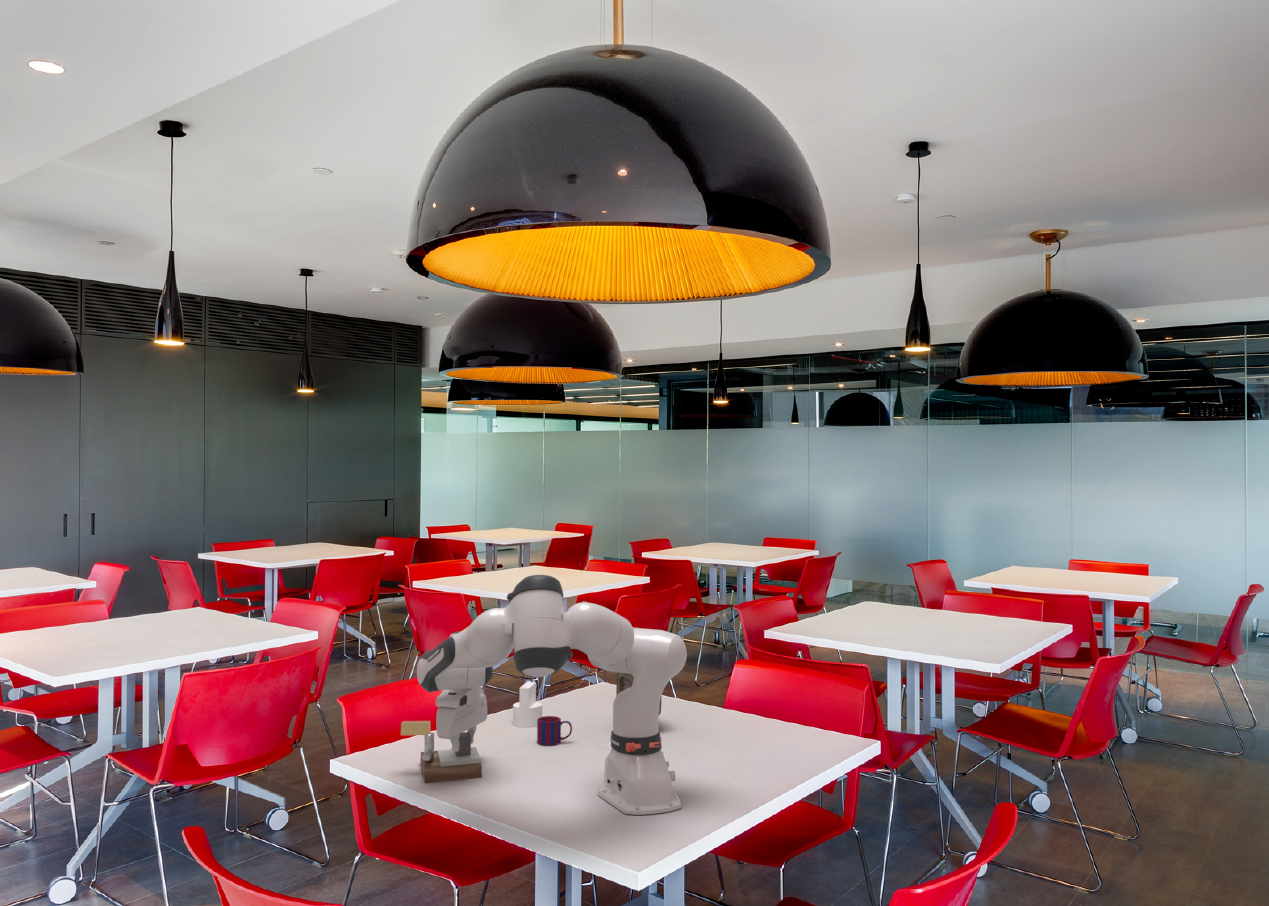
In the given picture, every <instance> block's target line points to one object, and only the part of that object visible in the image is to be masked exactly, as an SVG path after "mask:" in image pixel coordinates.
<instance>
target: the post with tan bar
mask: <svg viewBox="0 0 1269 906" xmlns="http://www.w3.org/2000/svg"><path fill="white" fill-rule="evenodd" d="M400 736H424V745H423V746H424V751H423V752H424V756H423V761H425V762H432V761H434V751H435V733H434V732H431V720H410V721H409V720H405V721H402V722H401V723H400Z"/></svg>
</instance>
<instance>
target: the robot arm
mask: <svg viewBox="0 0 1269 906" xmlns="http://www.w3.org/2000/svg"><path fill="white" fill-rule="evenodd" d="M563 591H564V590H563V587H562V584H561V582H560V580H558V579H557V578H555V577H554V576H551V575H548V574H547V575H546V574H534V575H533V574H531V575H528V576H526V577H524V578H523V579H521V580H520V581H519V582H518V583H517V584H516V585H515V587H514V588H513V591H512V592H509V593H508V594H507V596H506V599H507V601H508V604H507V606H505V607H501V608H500V607H495V608H489V609H487V610H485V611H483V612H482V613H481V614H479V615H478V616H477V617H476V618H475V619H473V621H472V622H471V624H469V626H467V627H466V628H464V629H463V630H461V631H455V632H452V633H451V634H450V635H449V637H448V638H447V639H444V640H442V641H441V642H440V643H439V644H438V645H436V647H434V648H433V649H432V650H430V649H429V650H426V651H425V652H424V653H423V654H422V655H420V657H419V658H418V663H417V667H416V677H417V682H418V685H419V686H420V687H421V688H422V689H423V690H425V691H426V692H428V693H434V692H440V691H442V692H441V693H440V694H439V695H438V696H437V697H436V698H435V699H436V700H435V706H436V707H438V709H437V710H436V719H435V721H436V722H435V723H436V727H435V728H436V736H437V737H438V738H439V739H446V740H449V741H450V743H451V749H452V751H455V752H457V751H459V750H461V743H459V739H458V738H459V737H460V733H463V732H469V733H470V735H471V745H472V744H473V743H474V741H475V740H474V738H475V733H476V732H477V726H478V725H480V724H482V723H484V722H486V720H487V718H488V702H487V695H486V694H485V691H484V690H485V689H483V688H482V687H484V686H486V685H488V683H489V682H490V681H491V680H492V678H493V673H494V671H493V670H494V669H493V667H495V666H498V665H500V664H501V663H503V662H504V661H505V660H507V658H508V657H509V655H511V653H512V652H513V650H514V653H513V655H512V656H513V659H514V660H513V661H514V665H515V668H516V671H517V672H519V673H521V674H522V675H523V676H524V675H525V676H528V677H529V676H530V677H534V678H543V677H547V676H549V675H554V674H555V673H557V672H558V671H559V670H560V669H562V668H563V667H564V666H565V664H566V662H568V661H569V660H571V659H572V657H573V654H574V653H573V651H572V650H579V651H581V652H583V653H584V654H585V655H587V657H588V658H587V659H588V660H589V662H590V664H591V665H592V666H593V667H596V668H598V669H601V670H604V671H608V672H612V673H627V674H633V675H634V680H633V684H632V687H629V688H627V689H625V690H623V691H622V692H620V693H619V694H618V695H617V696H615V698H614V700H613V703H612V730H611V733H610V748H611V749H610V752H609V753H608V755H606V757H605V759H604V768H603V769H604V770H603V771H604V772H603V773H604V774H603V785H602V787H599V788H598V789H597V793H596V794H597V795H596V796H599V797H600V798H602V799H603V800H605V801H606V802H607V803H608V804H610V805H611V806H613V807H615V809H617V810H619V811H620V812H622V813H623V814H626V815H634V816H635V815H637V816H638V815H639V816H641V815H655V814H662V813H669V812H672V811H676V810H679V809H681V808H683V807H682V802H681V799H680V797H679V795H678V793H677V791H676V789H675V787H674V785H673V782H675V781H676V773H675V770H669V767H670V762H669V760H668V761H667V760H666V759H665V756H664V752H663V751H662V749H663V748H662V736H661V733H660V732H661V731H660V730H659V720H660V717H659V716H660V715H659V705H660V698H661V695H662V694H663V692H664V689H665V688H666V687H667V685H668V683H669V682H670V681H671V679H673V678H674V677H675V676H677V675H678V674H679V673H680V672H681V671H682V670H683V669H684V667H685V664H686V661H687V657H688V653H687V652H688V651H687V646H686V644H685V641H684V640H683V638H682V637H681V636H680V635H679V634H676V633H673V632H669V631H666V630H663V629H652V628H640V627H633V626H632V624H631V622H630V621H629V619H627V618H625V617H623V616H621V615H620V614H619V613H616V612H615V611H613V610H611V609H609V608H607V607H605V606H602V605H601V604H600V605H599V604H597V603H591V602H586V601H585V602H582V601H581V602H578V603H575V604H574V605H571V607H569V608H568V609H567V611H566V612H565V608H564V600H563V598H564V592H563Z"/></svg>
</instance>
